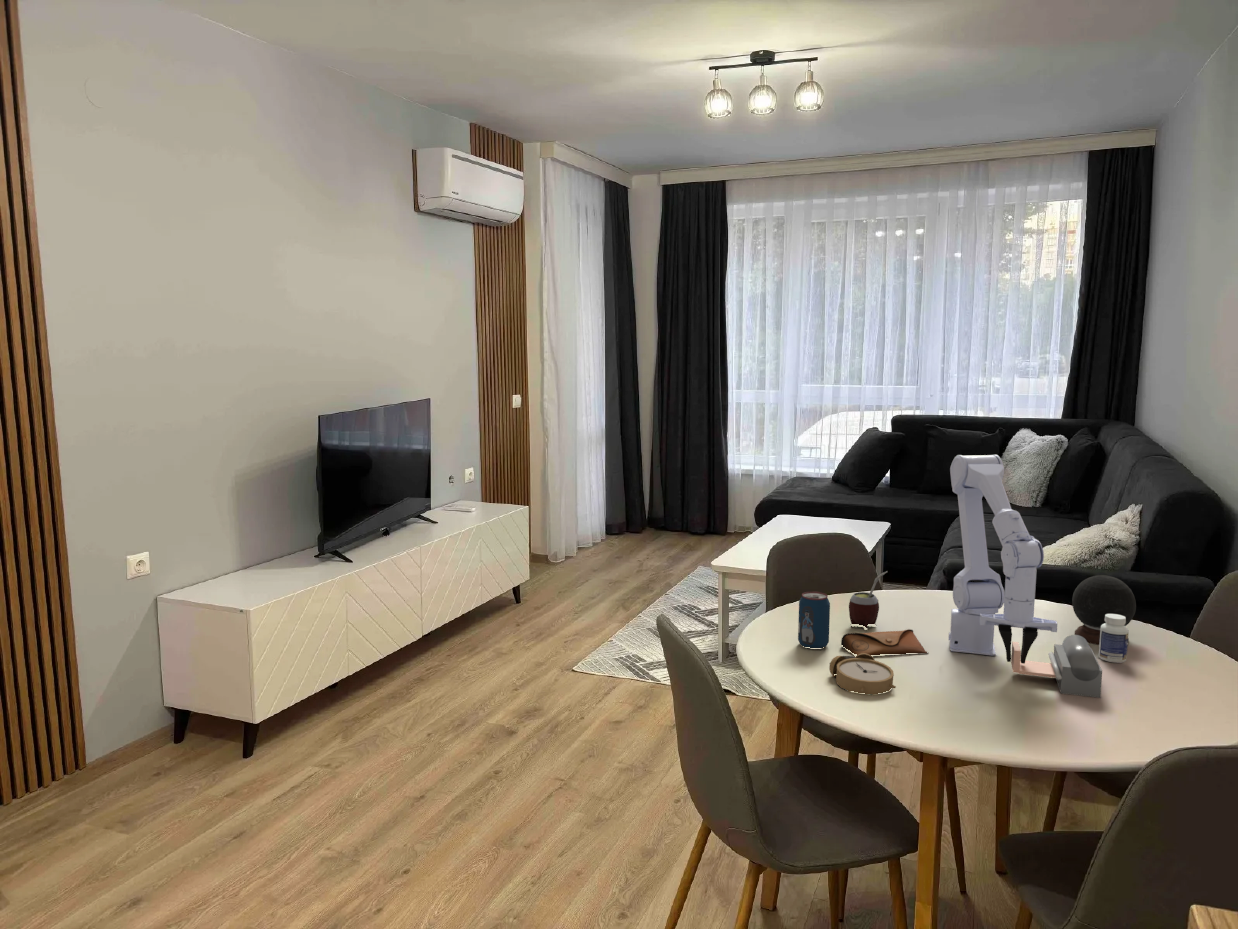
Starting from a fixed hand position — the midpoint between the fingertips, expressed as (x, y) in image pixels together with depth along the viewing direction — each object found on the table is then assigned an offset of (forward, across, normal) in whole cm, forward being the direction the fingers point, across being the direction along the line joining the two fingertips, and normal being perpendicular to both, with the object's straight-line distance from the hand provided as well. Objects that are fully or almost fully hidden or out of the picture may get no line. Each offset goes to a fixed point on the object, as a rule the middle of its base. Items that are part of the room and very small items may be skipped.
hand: (1015, 661), depth 186 cm
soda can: (+3, -42, +5) cm, 43 cm away
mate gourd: (+3, -32, +23) cm, 39 cm away
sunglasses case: (+4, -26, +8) cm, 28 cm away
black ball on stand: (+3, +21, +33) cm, 39 cm away
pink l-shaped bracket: (+1, +6, 0) cm, 7 cm away
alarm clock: (+4, -30, -14) cm, 33 cm away
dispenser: (+3, +11, 0) cm, 12 cm away
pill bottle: (+3, +21, +18) cm, 28 cm away
